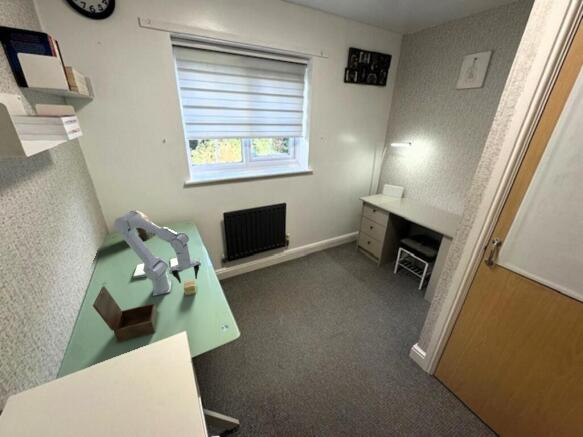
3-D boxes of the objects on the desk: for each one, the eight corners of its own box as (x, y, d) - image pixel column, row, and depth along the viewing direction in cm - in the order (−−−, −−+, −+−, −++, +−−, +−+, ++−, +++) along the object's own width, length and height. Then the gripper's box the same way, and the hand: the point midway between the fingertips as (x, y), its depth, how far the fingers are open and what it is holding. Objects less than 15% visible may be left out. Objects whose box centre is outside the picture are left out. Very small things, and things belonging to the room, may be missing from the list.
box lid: (104, 285, 97) (102, 286, 96) (94, 305, 87) (92, 305, 87) (121, 309, 103) (119, 310, 103) (114, 330, 93) (111, 331, 93)
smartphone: (182, 256, 153) (183, 268, 141) (182, 256, 153) (183, 269, 141) (170, 258, 150) (170, 271, 138) (170, 259, 150) (170, 272, 138)
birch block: (185, 289, 125) (183, 281, 123) (195, 287, 127) (194, 279, 125) (185, 295, 121) (183, 287, 119) (195, 293, 122) (194, 285, 120)
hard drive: (149, 273, 135) (152, 261, 146) (132, 276, 132) (137, 264, 143) (149, 275, 136) (153, 263, 146) (133, 278, 133) (137, 266, 144)
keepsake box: (158, 313, 110) (154, 302, 108) (154, 332, 100) (151, 321, 98) (124, 321, 106) (120, 311, 103) (118, 342, 96) (113, 331, 93)
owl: (147, 240, 173) (140, 215, 165) (132, 239, 175) (124, 214, 166) (158, 232, 184) (152, 209, 176) (143, 231, 186) (137, 208, 178)
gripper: (198, 250, 121) (202, 271, 127) (167, 256, 116) (172, 279, 121) (199, 257, 115) (203, 279, 121) (166, 264, 110) (172, 287, 115)
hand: (188, 279), depth 121 cm, fingers open, 7 cm apart
